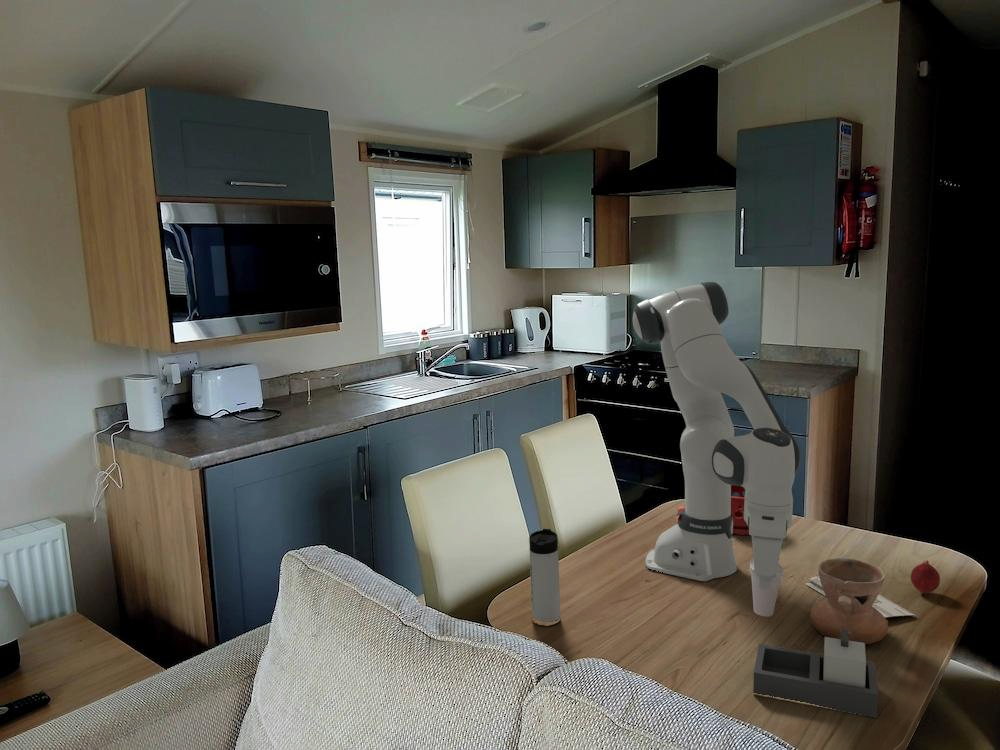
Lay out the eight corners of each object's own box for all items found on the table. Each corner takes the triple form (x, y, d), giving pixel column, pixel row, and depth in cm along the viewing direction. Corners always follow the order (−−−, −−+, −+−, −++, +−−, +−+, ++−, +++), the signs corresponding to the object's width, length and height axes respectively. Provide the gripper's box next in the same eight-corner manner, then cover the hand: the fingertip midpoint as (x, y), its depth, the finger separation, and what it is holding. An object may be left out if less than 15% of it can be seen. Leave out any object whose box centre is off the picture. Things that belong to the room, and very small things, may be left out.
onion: (943, 600, 168) (945, 566, 166) (914, 598, 169) (916, 565, 167) (933, 588, 173) (935, 555, 172) (906, 587, 174) (908, 554, 173)
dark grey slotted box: (753, 695, 136) (754, 643, 134) (761, 649, 151) (762, 603, 149) (876, 718, 128) (879, 664, 126) (872, 668, 143) (874, 619, 141)
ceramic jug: (882, 663, 144) (886, 593, 142) (802, 643, 152) (805, 577, 150) (891, 623, 159) (895, 559, 157) (818, 608, 167) (821, 547, 165)
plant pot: (719, 519, 222) (720, 480, 220) (767, 523, 217) (767, 483, 215) (713, 535, 210) (714, 494, 208) (763, 540, 205) (764, 498, 203)
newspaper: (802, 586, 179) (803, 576, 178) (846, 583, 182) (847, 573, 181) (869, 631, 157) (871, 619, 157) (918, 627, 160) (920, 616, 160)
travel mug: (563, 614, 169) (561, 529, 166) (556, 628, 163) (553, 540, 160) (537, 611, 171) (533, 527, 168) (528, 625, 165) (525, 538, 162)
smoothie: (740, 604, 153) (745, 540, 149) (770, 601, 154) (774, 538, 150) (756, 621, 146) (761, 555, 143) (786, 618, 148) (792, 552, 144)
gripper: (752, 493, 156) (749, 555, 159) (749, 530, 138) (745, 600, 140) (784, 496, 154) (780, 559, 157) (786, 534, 135) (782, 605, 138)
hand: (764, 579), depth 148 cm, fingers closed on smoothie, 6 cm apart
